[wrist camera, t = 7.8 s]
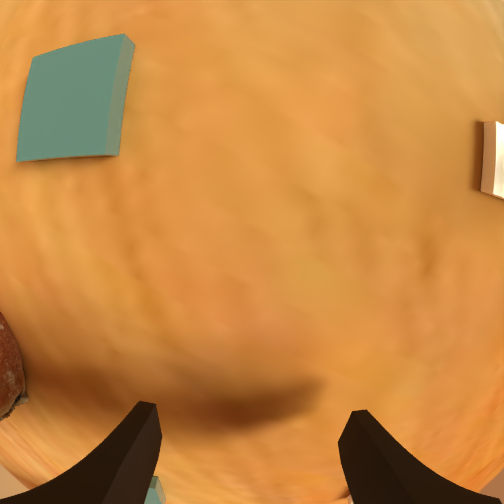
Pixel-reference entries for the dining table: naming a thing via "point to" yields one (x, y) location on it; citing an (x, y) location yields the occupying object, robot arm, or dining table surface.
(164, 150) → the dining table surface
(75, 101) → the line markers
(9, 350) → the bread roll
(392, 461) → the robot arm
